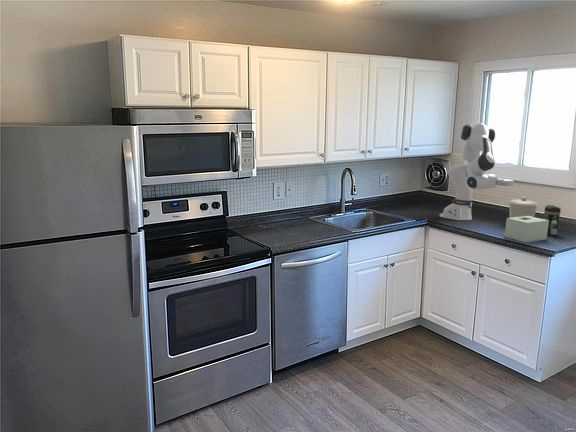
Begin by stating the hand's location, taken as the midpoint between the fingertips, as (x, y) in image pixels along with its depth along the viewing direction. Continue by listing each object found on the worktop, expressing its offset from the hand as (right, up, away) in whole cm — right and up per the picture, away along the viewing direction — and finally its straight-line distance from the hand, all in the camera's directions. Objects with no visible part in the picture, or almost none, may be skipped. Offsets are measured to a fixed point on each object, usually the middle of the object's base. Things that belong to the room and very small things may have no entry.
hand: (505, 180), depth 289 cm
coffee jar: (+32, -34, +9) cm, 48 cm away
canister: (+23, -30, +28) cm, 47 cm away
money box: (+10, -36, -4) cm, 38 cm away
